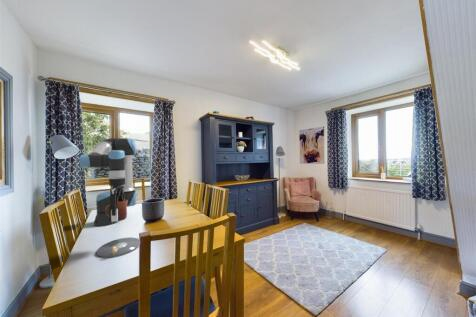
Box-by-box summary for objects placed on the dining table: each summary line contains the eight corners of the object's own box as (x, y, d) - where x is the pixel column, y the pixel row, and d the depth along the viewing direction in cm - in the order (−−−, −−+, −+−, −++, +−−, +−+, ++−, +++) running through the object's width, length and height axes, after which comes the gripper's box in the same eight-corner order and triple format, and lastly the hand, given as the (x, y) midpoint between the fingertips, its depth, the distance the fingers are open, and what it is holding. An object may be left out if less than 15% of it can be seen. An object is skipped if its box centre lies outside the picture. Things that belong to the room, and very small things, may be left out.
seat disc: (106, 242, 109) (106, 234, 109) (143, 237, 115) (143, 229, 114) (89, 260, 90) (89, 250, 90) (135, 254, 95) (135, 245, 95)
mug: (120, 216, 109) (120, 199, 109) (132, 217, 106) (131, 200, 106) (99, 223, 97) (99, 204, 97) (112, 225, 95) (111, 205, 95)
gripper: (116, 176, 112) (117, 213, 112) (100, 180, 91) (101, 226, 91) (130, 175, 114) (131, 212, 114) (117, 180, 93) (118, 224, 93)
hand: (118, 218), depth 103 cm, fingers closed on mug, 9 cm apart
